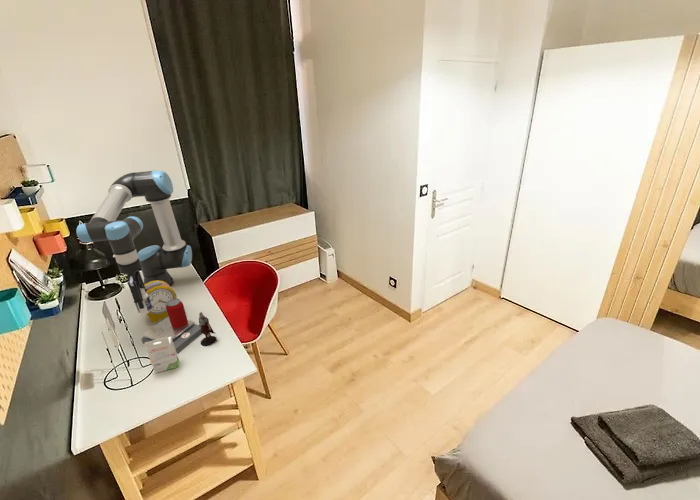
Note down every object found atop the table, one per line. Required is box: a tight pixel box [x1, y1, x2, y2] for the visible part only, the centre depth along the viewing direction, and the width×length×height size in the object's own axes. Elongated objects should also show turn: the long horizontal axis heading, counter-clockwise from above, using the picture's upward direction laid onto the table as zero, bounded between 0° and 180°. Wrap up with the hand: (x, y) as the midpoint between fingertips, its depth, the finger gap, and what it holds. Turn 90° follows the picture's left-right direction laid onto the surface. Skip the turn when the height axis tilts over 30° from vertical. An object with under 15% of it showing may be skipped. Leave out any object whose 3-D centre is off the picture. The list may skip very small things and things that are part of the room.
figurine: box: [198, 311, 217, 347], centre depth 150 cm, size 7×7×15 cm
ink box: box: [144, 337, 180, 374], centre depth 137 cm, size 9×5×15 cm, turn 110°
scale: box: [140, 323, 203, 354], centre depth 156 cm, size 16×20×3 cm
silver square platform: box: [141, 316, 195, 340], centre depth 156 cm, size 15×15×2 cm
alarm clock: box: [144, 280, 177, 324], centre depth 169 cm, size 15×8×18 cm, turn 131°
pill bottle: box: [134, 288, 152, 314], centre depth 147 cm, size 5×5×10 cm
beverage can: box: [166, 298, 189, 328], centre depth 155 cm, size 7×7×12 cm
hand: (145, 309), depth 149 cm, fingers closed on pill bottle, 5 cm apart
